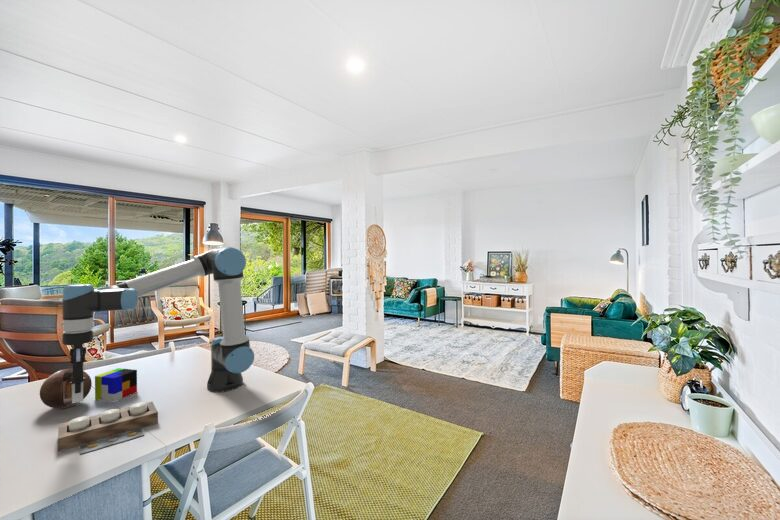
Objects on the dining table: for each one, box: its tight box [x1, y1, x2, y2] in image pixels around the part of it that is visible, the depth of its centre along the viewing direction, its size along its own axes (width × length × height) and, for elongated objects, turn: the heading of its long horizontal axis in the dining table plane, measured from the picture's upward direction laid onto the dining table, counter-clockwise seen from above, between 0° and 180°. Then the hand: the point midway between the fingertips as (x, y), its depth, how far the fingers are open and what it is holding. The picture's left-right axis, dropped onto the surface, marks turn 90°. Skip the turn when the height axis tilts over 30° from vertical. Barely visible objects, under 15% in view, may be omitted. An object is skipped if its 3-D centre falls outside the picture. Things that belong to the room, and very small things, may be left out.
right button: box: [129, 401, 148, 416], centre depth 124 cm, size 5×5×4 cm
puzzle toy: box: [94, 368, 138, 402], centre depth 146 cm, size 10×10×10 cm
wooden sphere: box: [39, 368, 93, 410], centre depth 135 cm, size 15×15×15 cm
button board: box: [57, 401, 159, 455], centre depth 116 cm, size 26×19×4 cm
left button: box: [68, 415, 90, 432], centre depth 113 cm, size 5×5×4 cm
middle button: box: [100, 408, 120, 424], centre depth 118 cm, size 5×5×4 cm
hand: (77, 401), depth 112 cm, fingers closed
